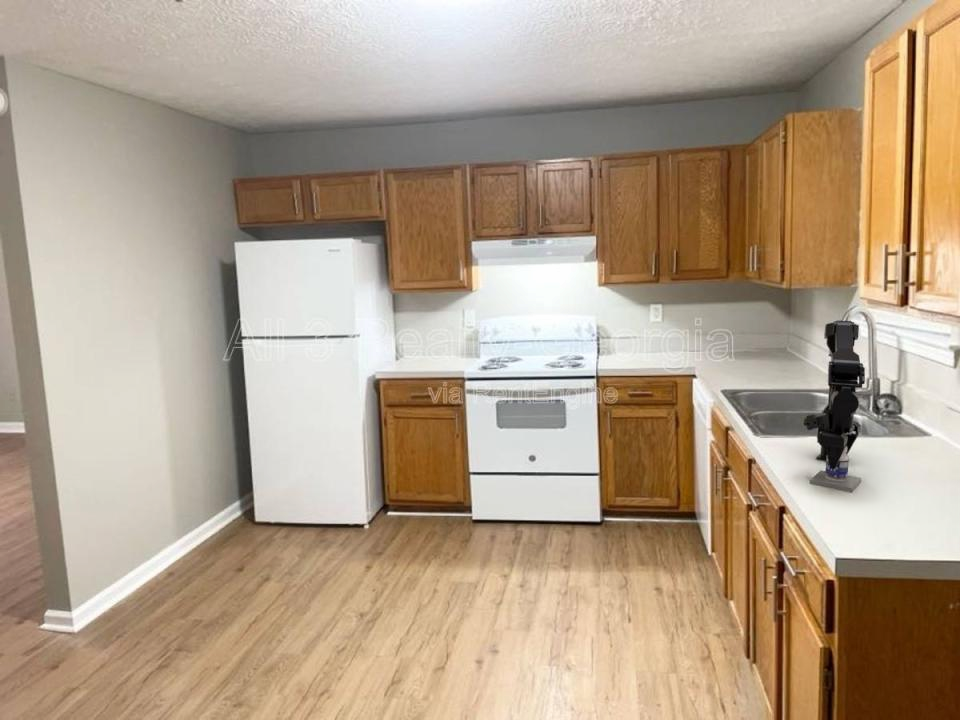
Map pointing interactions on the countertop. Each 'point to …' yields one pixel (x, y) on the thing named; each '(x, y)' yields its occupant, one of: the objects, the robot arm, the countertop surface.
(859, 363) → the robot arm
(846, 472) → the pill bottle
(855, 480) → the ceramic coaster
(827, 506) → the countertop surface
